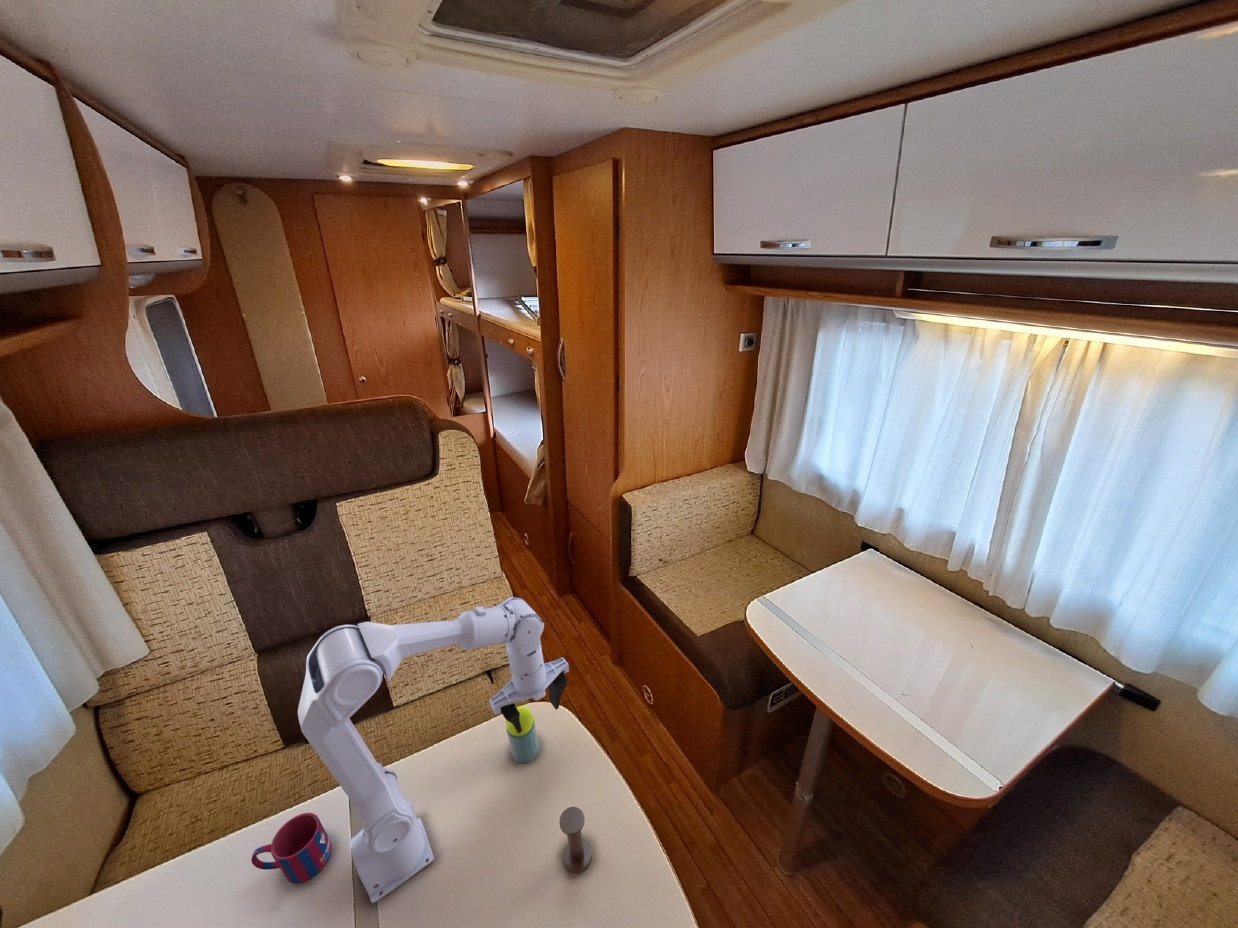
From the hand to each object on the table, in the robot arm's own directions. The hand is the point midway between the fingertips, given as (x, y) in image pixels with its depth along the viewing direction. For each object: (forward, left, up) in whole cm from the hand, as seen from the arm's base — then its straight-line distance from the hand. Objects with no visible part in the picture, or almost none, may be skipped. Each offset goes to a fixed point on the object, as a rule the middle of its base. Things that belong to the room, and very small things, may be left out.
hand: (536, 716), depth 89 cm
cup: (-40, +9, -11) cm, 43 cm away
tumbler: (-2, +3, -10) cm, 11 cm away
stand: (-4, -19, -10) cm, 22 cm away
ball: (-2, +3, -5) cm, 6 cm away
